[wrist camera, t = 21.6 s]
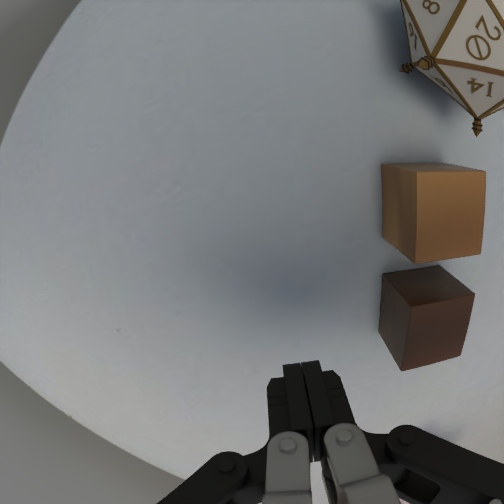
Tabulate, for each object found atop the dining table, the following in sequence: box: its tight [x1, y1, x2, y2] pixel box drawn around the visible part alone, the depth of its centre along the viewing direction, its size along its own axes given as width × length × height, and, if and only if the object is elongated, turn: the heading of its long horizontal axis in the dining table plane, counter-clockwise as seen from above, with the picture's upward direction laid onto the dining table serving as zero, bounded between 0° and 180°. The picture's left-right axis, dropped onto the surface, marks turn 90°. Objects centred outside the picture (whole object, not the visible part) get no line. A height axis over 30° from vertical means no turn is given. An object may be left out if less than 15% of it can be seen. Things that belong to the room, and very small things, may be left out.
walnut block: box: [379, 266, 475, 371], centre depth 16 cm, size 4×4×4 cm
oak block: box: [381, 163, 486, 264], centre depth 14 cm, size 4×4×4 cm
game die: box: [400, 0, 504, 137], centre depth 9 cm, size 9×8×10 cm
